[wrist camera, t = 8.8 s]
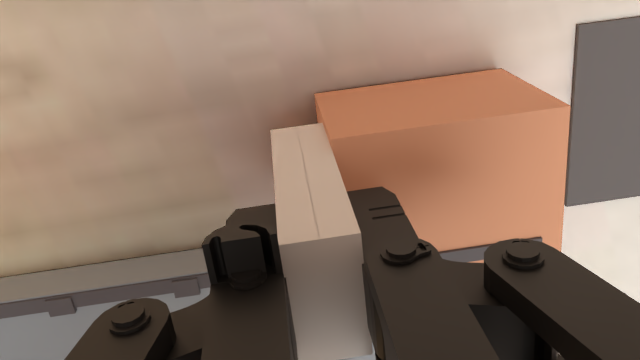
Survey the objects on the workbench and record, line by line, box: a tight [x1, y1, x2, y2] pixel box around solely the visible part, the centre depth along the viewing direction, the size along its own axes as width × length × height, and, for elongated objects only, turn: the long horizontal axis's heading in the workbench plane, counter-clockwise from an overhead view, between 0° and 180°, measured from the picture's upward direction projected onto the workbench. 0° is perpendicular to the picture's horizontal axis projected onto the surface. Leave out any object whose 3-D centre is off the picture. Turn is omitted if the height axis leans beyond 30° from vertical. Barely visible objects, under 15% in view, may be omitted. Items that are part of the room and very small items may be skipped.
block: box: [314, 69, 571, 263], centre depth 17 cm, size 6×4×4 cm
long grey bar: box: [0, 248, 376, 360], centre depth 20 cm, size 22×5×2 cm, turn 96°
